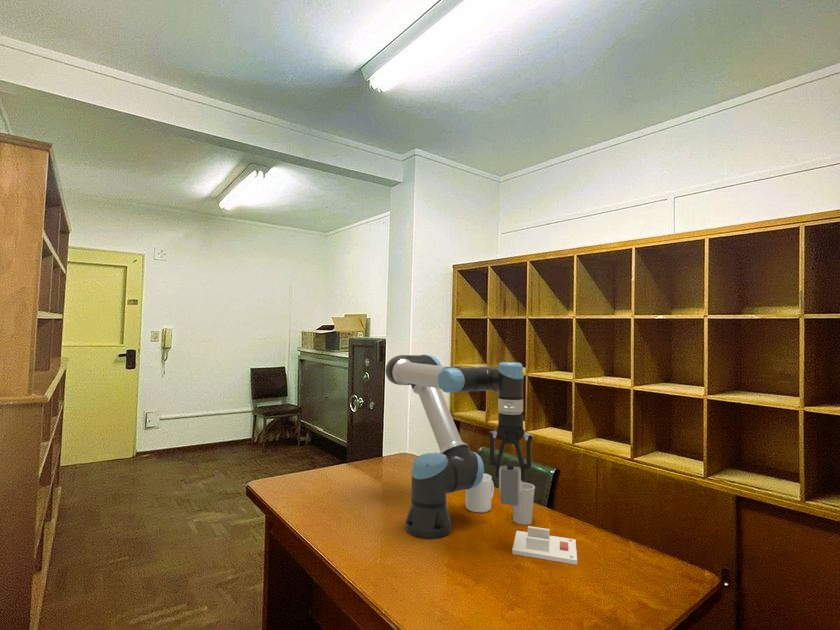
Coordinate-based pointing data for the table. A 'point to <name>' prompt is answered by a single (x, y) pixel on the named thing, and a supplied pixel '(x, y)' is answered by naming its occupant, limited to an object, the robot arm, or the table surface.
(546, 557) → the socket
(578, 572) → the table surface
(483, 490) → the mug
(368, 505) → the table surface
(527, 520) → the cup
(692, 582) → the table surface
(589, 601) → the table surface
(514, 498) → the plug
